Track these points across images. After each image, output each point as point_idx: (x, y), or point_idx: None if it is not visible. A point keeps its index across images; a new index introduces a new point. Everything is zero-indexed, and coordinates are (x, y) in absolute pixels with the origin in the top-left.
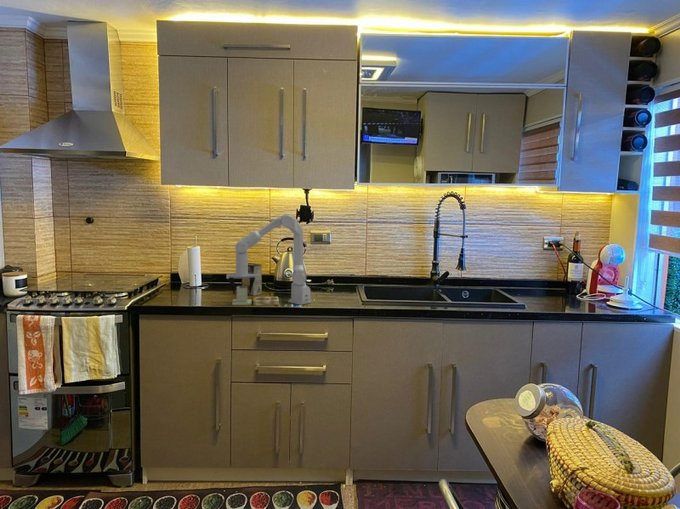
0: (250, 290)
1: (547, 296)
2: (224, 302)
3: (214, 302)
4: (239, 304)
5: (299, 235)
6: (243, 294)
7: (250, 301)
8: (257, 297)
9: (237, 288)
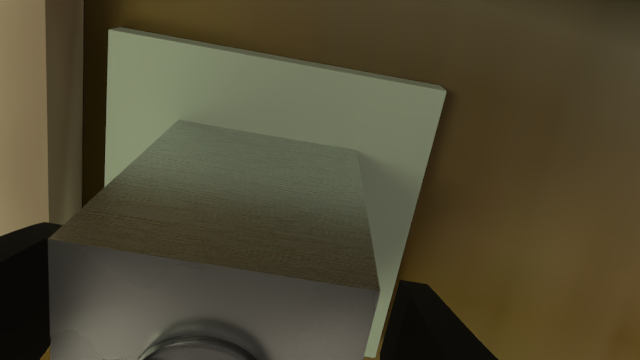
0: (2, 240)
1: None
2: (504, 303)
3: (635, 336)
4: (321, 66)
5: None
6: (212, 180)
7: (120, 169)
8: None
9: (352, 283)
